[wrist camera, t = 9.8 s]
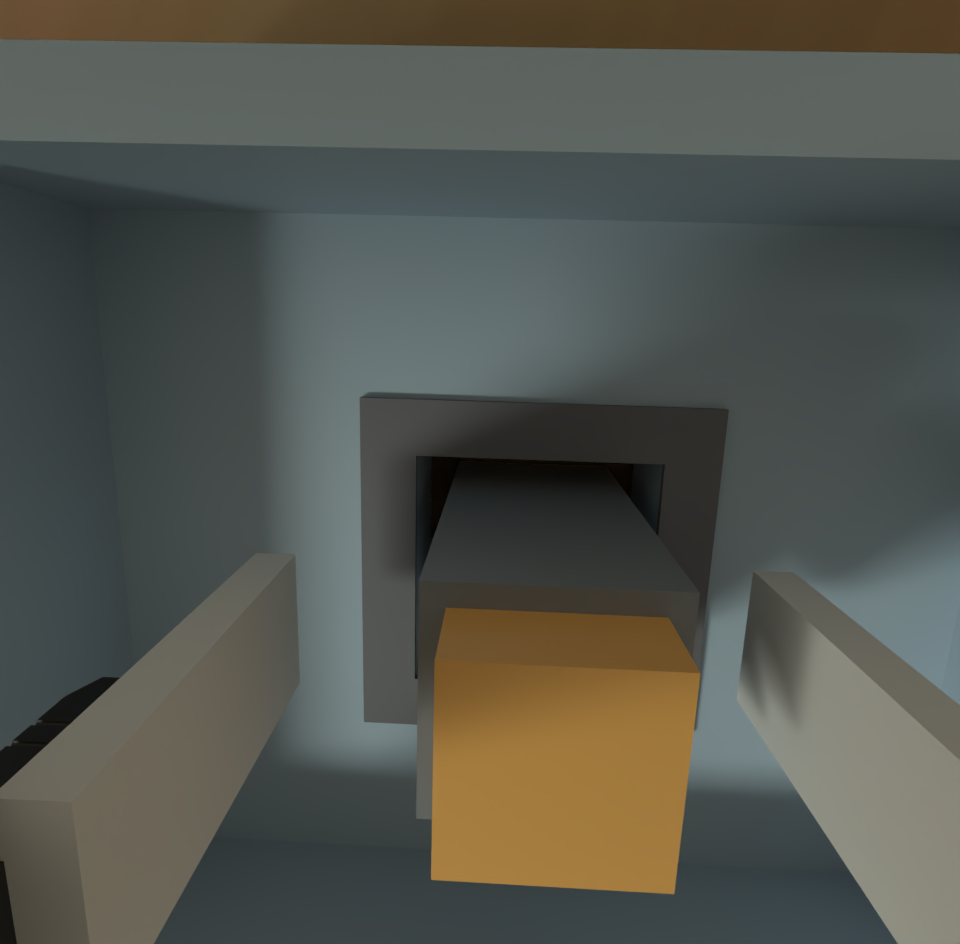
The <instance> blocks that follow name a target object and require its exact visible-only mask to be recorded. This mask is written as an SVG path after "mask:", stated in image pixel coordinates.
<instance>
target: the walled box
mask: <svg viewBox="0 0 960 944" xmlns="http://www.w3.org/2000/svg"><path fill="white" fill-rule="evenodd" d="M432 456H439V457H467V458H495V459H523V460H551V461H579V462H607V463H634V465H633V477H632V489H631V501H632V502H633V503H634V505H635V506H636V507H637V509H638V510H639V511H640V513H641V514H642V515H643V517H644V518H645V520H646V521H647V522H648V524H649V525H650V526H651V528H652V529H653V530H654V532H655V533H656V534H657V536H658V537H659V538H660V540H661V541H662V542H663V544H664V545H665V546H666V548H667V549H668V550H669V552H670V553H671V554H672V556H673V557H674V558H675V560H676V561H677V563H678V564H679V565H680V567H681V568H682V569H683V571H684V572H685V573H686V575H687V576H688V577H689V579H690V580H691V581H692V583H693V584H694V585H695V587H696V588H697V589H698V591H699V592H700V598H699V606H698V615H697V624H696V632H695V641H694V650H693V661H694V663H695V664H696V666H697V668H698V670H699V671H700V673H701V674H700V683H699V691H698V699H697V708H696V716H695V725H694V733H693V741H692V750H691V758H690V767H689V775H688V783H687V792H686V800H685V808H684V817H683V825H682V834H681V842H680V850H679V859H678V867H677V876H676V884H675V892H674V894H663V893H646V892H629V891H612V890H595V889H577V888H560V887H543V886H526V885H509V884H492V883H475V882H458V881H441V880H431V850H432V819H416V792H417V690H418V588H419V578H420V575H421V572H422V569H423V566H424V563H425V560H426V558H427V555H428V552H429V549H430V546H431V493H432ZM256 553H272V554H295V560H296V588H297V616H298V643H299V671H300V683H299V685H298V687H297V688H296V690H295V692H294V694H293V696H292V697H291V699H290V701H289V703H288V705H287V706H286V708H285V710H284V712H283V714H282V715H281V717H280V719H279V721H278V722H277V724H276V726H275V728H274V730H273V731H272V733H271V735H270V737H269V739H268V740H267V742H266V744H265V746H264V747H263V749H262V751H261V753H260V755H259V756H258V758H257V760H256V762H255V764H254V765H253V767H252V769H251V771H250V773H249V774H248V776H247V778H246V780H245V781H244V783H243V785H242V787H241V789H240V790H239V792H238V794H237V796H236V798H235V799H234V801H233V803H232V805H231V806H230V808H229V810H228V812H227V814H226V815H225V817H224V819H223V821H222V823H221V824H220V826H219V828H218V830H217V832H216V833H215V835H214V837H213V839H212V840H211V842H210V844H209V846H208V848H207V849H206V851H205V853H204V855H203V857H202V858H201V860H200V862H199V864H198V865H197V867H196V869H195V871H194V873H193V874H192V876H191V878H190V880H189V882H188V883H187V885H186V887H185V889H184V891H183V892H182V894H181V896H180V898H179V899H178V901H177V903H176V905H175V907H174V908H173V910H172V912H171V914H170V916H169V917H168V919H167V921H166V923H165V924H164V926H163V928H162V930H161V932H160V933H159V935H158V937H157V939H156V941H155V942H154V944H898V943H897V942H896V940H895V939H894V937H893V936H892V934H891V933H890V931H889V930H888V928H887V927H886V925H885V924H884V922H883V921H882V919H881V918H880V916H879V915H878V913H877V912H876V910H875V909H874V907H873V905H872V904H871V902H870V901H869V899H868V898H867V896H866V895H865V893H864V892H863V890H862V889H861V887H860V886H859V884H858V883H857V881H856V880H855V878H854V877H853V875H852V874H851V872H850V871H849V869H848V868H847V866H846V865H845V863H844V862H843V860H842V859H841V857H840V855H839V854H838V852H837V851H836V849H835V848H834V846H833V845H832V843H831V842H830V840H829V839H828V837H827V836H826V834H825V833H824V831H823V830H822V828H821V827H820V825H819V824H818V822H817V821H816V819H815V818H814V816H813V815H812V813H811V812H810V810H809V808H808V807H807V805H806V804H805V802H804V801H803V799H802V798H801V796H800V795H799V793H798V792H797V790H796V789H795V787H794V786H793V784H792V783H791V781H790V780H789V778H788V777H787V775H786V774H785V772H784V771H783V769H782V768H781V766H780V765H779V763H778V762H777V760H776V758H775V757H774V755H773V754H772V752H771V751H770V749H769V748H768V746H767V745H766V743H765V742H764V740H763V739H762V737H761V736H760V734H759V733H758V731H757V730H756V728H755V727H754V725H753V724H752V722H751V721H750V719H749V718H748V716H747V715H746V713H745V712H744V710H743V708H742V707H741V705H740V704H739V702H738V701H737V692H738V684H739V676H740V669H741V661H742V653H743V645H744V638H745V630H746V622H747V615H748V607H749V599H750V591H751V584H752V576H753V571H778V572H794V573H795V574H796V575H798V576H799V577H800V578H801V579H803V580H804V581H805V582H806V583H808V584H809V585H810V586H811V587H813V588H814V589H815V590H816V591H818V592H819V593H820V594H821V595H823V596H824V597H825V598H826V599H828V600H829V601H830V602H831V603H833V604H834V605H835V606H836V607H838V608H839V609H840V610H841V611H843V612H844V613H845V614H846V615H848V616H849V617H850V618H851V619H853V620H854V621H855V622H856V623H858V624H859V625H860V626H861V627H863V628H864V629H865V630H866V631H868V632H869V633H870V634H871V635H873V636H874V637H875V638H876V639H878V640H879V641H880V642H881V643H883V644H884V645H885V646H886V647H888V648H889V649H890V650H891V651H893V652H894V653H895V654H896V655H898V656H899V657H900V658H901V659H903V660H904V661H905V662H906V663H908V664H909V665H910V666H911V667H913V668H914V669H915V670H916V671H918V672H919V673H920V674H921V675H923V676H924V677H925V678H926V679H928V680H929V681H930V682H931V683H933V684H934V685H935V686H936V687H938V688H939V689H940V690H941V691H943V692H944V693H945V694H946V695H948V696H949V697H950V698H951V699H953V700H954V701H955V702H956V703H958V704H959V705H960V54H948V53H882V52H815V51H749V50H683V49H616V48H550V47H483V46H417V45H351V44H284V43H218V42H152V41H85V40H19V39H0V751H1V750H2V749H3V748H4V747H5V746H11V745H12V741H13V740H14V739H15V738H16V737H17V736H18V735H20V734H21V733H22V732H23V731H24V730H26V729H27V728H28V727H29V726H30V725H36V722H37V719H39V718H40V717H41V716H42V715H43V714H45V713H46V712H47V711H48V710H49V709H50V708H52V707H53V706H54V705H55V704H56V703H58V702H59V701H60V700H61V699H62V698H64V697H65V696H66V695H68V694H70V693H72V692H74V691H76V690H78V689H80V688H82V687H84V686H86V685H88V684H90V683H92V682H94V681H96V680H98V679H100V678H101V677H117V678H121V677H122V676H123V675H124V674H125V673H126V672H127V671H128V670H129V669H130V668H132V667H133V666H134V665H135V664H136V663H137V662H138V661H139V660H140V659H141V658H142V657H144V656H145V655H146V654H147V653H148V652H149V651H150V650H151V649H152V648H153V647H154V646H155V645H157V644H158V643H159V642H160V641H161V640H162V639H163V638H164V637H165V636H166V635H167V634H169V633H170V632H171V631H172V630H173V629H174V628H175V627H176V626H177V625H178V624H179V623H181V622H182V621H183V620H184V619H185V618H186V617H187V616H188V615H189V614H190V613H191V612H192V611H194V610H195V609H196V608H197V607H198V606H199V605H200V604H201V603H202V602H203V601H204V600H206V599H207V598H208V597H209V596H210V595H211V594H212V593H213V592H214V591H215V590H216V589H218V588H219V587H220V586H221V585H222V584H223V583H224V582H225V581H226V580H227V579H228V578H229V577H231V576H232V575H233V574H234V573H235V572H236V571H237V570H238V569H239V568H240V567H241V566H243V565H244V564H245V563H246V562H247V561H248V560H249V559H250V558H251V557H252V556H253V555H255V554H256Z"/></svg>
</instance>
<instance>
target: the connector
mask: <svg viewBox="0 0 960 944" xmlns="http://www.w3.org/2000/svg"><path fill="white" fill-rule="evenodd" d="M699 598H700V592H699V591H698V589H697V588H696V587H695V585H694V584H693V583H692V581H691V580H690V579H689V577H688V576H687V575H686V573H685V572H684V571H683V569H682V568H681V567H680V565H679V564H678V563H677V561H676V560H675V558H674V557H673V556H672V554H671V553H670V552H669V550H668V549H667V548H666V546H665V545H664V544H663V542H662V541H661V540H660V538H659V537H658V536H657V534H656V533H655V532H654V530H653V529H652V528H651V526H650V525H649V524H648V522H647V521H646V520H645V518H644V517H643V515H642V514H641V513H640V511H639V510H638V509H637V507H636V506H635V505H634V503H633V502H632V501H631V499H630V498H629V497H628V495H627V494H626V493H625V491H624V490H623V489H622V487H621V486H620V485H619V483H618V482H617V481H616V479H615V478H614V477H613V475H612V474H611V472H610V471H609V470H608V468H607V467H606V466H581V465H555V464H528V463H502V462H475V461H460V462H459V465H458V468H457V471H456V473H455V476H454V479H453V482H452V485H451V488H450V491H449V494H448V497H447V500H446V502H445V505H444V508H443V511H442V514H441V517H440V520H439V523H438V526H437V529H436V531H435V534H434V537H433V540H432V543H431V546H430V549H429V552H428V555H427V558H426V560H425V563H424V566H423V569H422V572H421V575H420V578H419V588H418V690H417V792H416V819H432V850H431V880H441V881H458V882H475V883H492V884H509V885H526V886H543V887H560V888H577V889H595V890H612V891H629V892H646V893H663V894H674V892H675V884H676V876H677V867H678V859H679V850H680V842H681V834H682V825H683V817H684V808H685V800H686V792H687V783H688V775H689V767H690V758H691V750H692V741H693V733H694V725H695V716H696V708H697V699H698V691H699V683H700V674H701V673H700V671H699V670H698V668H697V666H696V664H695V663H694V661H693V650H694V641H695V632H696V624H697V615H698V606H699Z"/></svg>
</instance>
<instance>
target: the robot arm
mask: <svg viewBox="0 0 960 944" xmlns="http://www.w3.org/2000/svg"><path fill="white" fill-rule="evenodd" d="M299 683H300V671H299V643H298V616H297V588H296V560H295V554H272V553H256V554H255V555H253V556H252V557H251V558H250V559H249V560H248V561H247V562H246V563H245V564H244V565H243V566H241V567H240V568H239V569H238V570H237V571H236V572H235V573H234V574H233V575H232V576H231V577H229V578H228V579H227V580H226V581H225V582H224V583H223V584H222V585H221V586H220V587H219V588H218V589H216V590H215V591H214V592H213V593H212V594H211V595H210V596H209V597H208V598H207V599H206V600H204V601H203V602H202V603H201V604H200V605H199V606H198V607H197V608H196V609H195V610H194V611H192V612H191V613H190V614H189V615H188V616H187V617H186V618H185V619H184V620H183V621H182V622H181V623H179V624H178V625H177V626H176V627H175V628H174V629H173V630H172V631H171V632H170V633H169V634H167V635H166V636H165V637H164V638H163V639H162V640H161V641H160V642H159V643H158V644H157V645H155V646H154V647H153V648H152V649H151V650H150V651H149V652H148V653H147V654H146V655H145V656H144V657H142V658H141V659H140V660H139V661H138V662H137V663H136V664H135V665H134V666H133V667H132V668H130V669H129V670H128V671H127V672H126V673H125V674H124V675H123V676H122V677H121V678H117V677H101V678H100V679H98V680H96V681H94V682H92V683H90V684H88V685H86V686H84V687H82V688H80V689H78V690H76V691H74V692H72V693H70V694H68V695H66V696H65V697H64V698H62V699H61V700H60V701H59V702H58V703H56V704H55V705H54V706H53V707H52V708H50V709H49V710H48V711H47V712H46V713H45V714H43V715H42V716H41V717H40V718H39V719H37V722H36V725H30V726H29V727H28V728H27V729H26V730H24V731H23V732H22V733H21V734H20V735H18V736H17V737H16V738H15V739H14V740H13V741H12V745H11V746H5V747H4V748H3V749H2V750H1V751H0V944H154V942H155V941H156V939H157V937H158V935H159V933H160V932H161V930H162V928H163V926H164V924H165V923H166V921H167V919H168V917H169V916H170V914H171V912H172V910H173V908H174V907H175V905H176V903H177V901H178V899H179V898H180V896H181V894H182V892H183V891H184V889H185V887H186V885H187V883H188V882H189V880H190V878H191V876H192V874H193V873H194V871H195V869H196V867H197V865H198V864H199V862H200V860H201V858H202V857H203V855H204V853H205V851H206V849H207V848H208V846H209V844H210V842H211V840H212V839H213V837H214V835H215V833H216V832H217V830H218V828H219V826H220V824H221V823H222V821H223V819H224V817H225V815H226V814H227V812H228V810H229V808H230V806H231V805H232V803H233V801H234V799H235V798H236V796H237V794H238V792H239V790H240V789H241V787H242V785H243V783H244V781H245V780H246V778H247V776H248V774H249V773H250V771H251V769H252V767H253V765H254V764H255V762H256V760H257V758H258V756H259V755H260V753H261V751H262V749H263V747H264V746H265V744H266V742H267V740H268V739H269V737H270V735H271V733H272V731H273V730H274V728H275V726H276V724H277V722H278V721H279V719H280V717H281V715H282V714H283V712H284V710H285V708H286V706H287V705H288V703H289V701H290V699H291V697H292V696H293V694H294V692H295V690H296V688H297V687H298V685H299ZM737 701H738V702H739V704H740V705H741V707H742V708H743V710H744V712H745V713H746V715H747V716H748V718H749V719H750V721H751V722H752V724H753V725H754V727H755V728H756V730H757V731H758V733H759V734H760V736H761V737H762V739H763V740H764V742H765V743H766V745H767V746H768V748H769V749H770V751H771V752H772V754H773V755H774V757H775V758H776V760H777V762H778V763H779V765H780V766H781V768H782V769H783V771H784V772H785V774H786V775H787V777H788V778H789V780H790V781H791V783H792V784H793V786H794V787H795V789H796V790H797V792H798V793H799V795H800V796H801V798H802V799H803V801H804V802H805V804H806V805H807V807H808V808H809V810H810V812H811V813H812V815H813V816H814V818H815V819H816V821H817V822H818V824H819V825H820V827H821V828H822V830H823V831H824V833H825V834H826V836H827V837H828V839H829V840H830V842H831V843H832V845H833V846H834V848H835V849H836V851H837V852H838V854H839V855H840V857H841V859H842V860H843V862H844V863H845V865H846V866H847V868H848V869H849V871H850V872H851V874H852V875H853V877H854V878H855V880H856V881H857V883H858V884H859V886H860V887H861V889H862V890H863V892H864V893H865V895H866V896H867V898H868V899H869V901H870V902H871V904H872V905H873V907H874V909H875V910H876V912H877V913H878V915H879V916H880V918H881V919H882V921H883V922H884V924H885V925H886V927H887V928H888V930H889V931H890V933H891V934H892V936H893V937H894V939H895V940H896V942H897V943H898V944H960V705H959V704H958V703H956V702H955V701H954V700H953V699H951V698H950V697H949V696H948V695H946V694H945V693H944V692H943V691H941V690H940V689H939V688H938V687H936V686H935V685H934V684H933V683H931V682H930V681H929V680H928V679H926V678H925V677H924V676H923V675H921V674H920V673H919V672H918V671H916V670H915V669H914V668H913V667H911V666H910V665H909V664H908V663H906V662H905V661H904V660H903V659H901V658H900V657H899V656H898V655H896V654H895V653H894V652H893V651H891V650H890V649H889V648H888V647H886V646H885V645H884V644H883V643H881V642H880V641H879V640H878V639H876V638H875V637H874V636H873V635H871V634H870V633H869V632H868V631H866V630H865V629H864V628H863V627H861V626H860V625H859V624H858V623H856V622H855V621H854V620H853V619H851V618H850V617H849V616H848V615H846V614H845V613H844V612H843V611H841V610H840V609H839V608H838V607H836V606H835V605H834V604H833V603H831V602H830V601H829V600H828V599H826V598H825V597H824V596H823V595H821V594H820V593H819V592H818V591H816V590H815V589H814V588H813V587H811V586H810V585H809V584H808V583H806V582H805V581H804V580H803V579H801V578H800V577H799V576H798V575H796V574H795V573H794V572H778V571H753V576H752V584H751V591H750V599H749V607H748V615H747V622H746V630H745V638H744V645H743V653H742V661H741V669H740V676H739V684H738V692H737Z"/></svg>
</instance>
